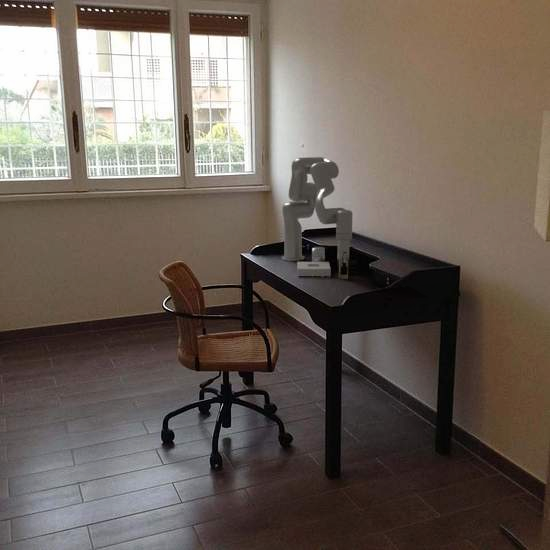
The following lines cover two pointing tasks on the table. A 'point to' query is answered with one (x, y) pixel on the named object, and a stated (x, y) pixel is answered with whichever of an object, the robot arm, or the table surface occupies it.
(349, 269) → the end cap
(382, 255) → the table surface
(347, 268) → the square peg
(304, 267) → the socket block
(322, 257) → the grey block
